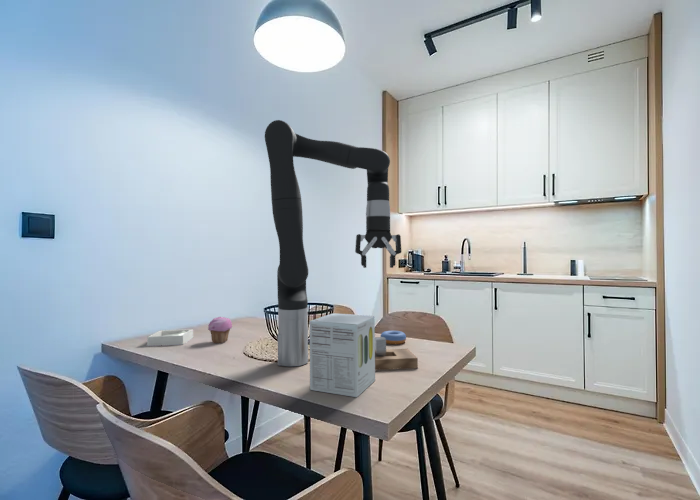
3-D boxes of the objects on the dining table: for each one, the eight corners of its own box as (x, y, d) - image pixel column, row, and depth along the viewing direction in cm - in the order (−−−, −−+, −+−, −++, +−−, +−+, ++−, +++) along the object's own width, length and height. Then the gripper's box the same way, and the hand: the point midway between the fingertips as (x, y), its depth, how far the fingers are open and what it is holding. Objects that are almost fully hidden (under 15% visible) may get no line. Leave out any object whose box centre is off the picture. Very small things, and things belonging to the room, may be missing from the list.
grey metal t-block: (370, 366, 110) (369, 339, 111) (368, 363, 113) (368, 337, 114) (392, 365, 111) (392, 339, 111) (390, 362, 114) (390, 336, 114)
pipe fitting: (160, 345, 142) (175, 344, 141) (159, 335, 142) (175, 334, 141) (173, 340, 150) (188, 339, 148) (172, 331, 150) (187, 330, 149)
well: (350, 371, 106) (350, 360, 106) (347, 360, 117) (346, 350, 117) (417, 368, 108) (417, 357, 108) (407, 357, 119) (407, 348, 119)
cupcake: (215, 339, 148) (215, 314, 149) (235, 339, 147) (235, 315, 147) (204, 344, 140) (204, 318, 140) (225, 345, 138) (225, 319, 139)
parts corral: (147, 346, 139) (147, 336, 139) (160, 338, 150) (160, 330, 151) (183, 344, 140) (183, 335, 140) (193, 337, 152) (193, 329, 152)
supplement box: (357, 398, 86) (356, 324, 86) (308, 390, 91) (308, 320, 91) (376, 380, 98) (375, 315, 98) (332, 374, 103) (331, 312, 103)
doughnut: (405, 345, 135) (405, 332, 135) (379, 345, 137) (378, 333, 137) (407, 341, 144) (406, 329, 145) (382, 341, 146) (381, 330, 147)
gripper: (357, 214, 110) (357, 268, 109) (403, 214, 111) (403, 267, 111) (354, 217, 117) (354, 267, 117) (397, 217, 119) (397, 267, 118)
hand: (378, 267), depth 114 cm, fingers open, 8 cm apart
